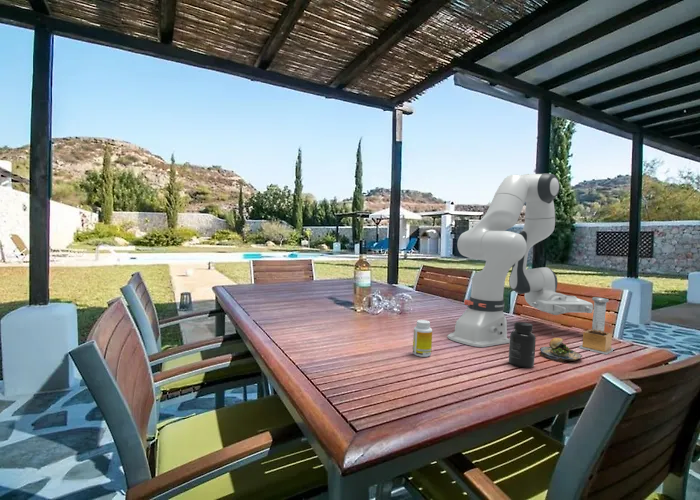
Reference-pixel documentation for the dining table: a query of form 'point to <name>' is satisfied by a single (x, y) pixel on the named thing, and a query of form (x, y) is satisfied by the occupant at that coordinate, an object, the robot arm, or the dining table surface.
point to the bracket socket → (597, 342)
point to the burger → (558, 351)
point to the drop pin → (599, 315)
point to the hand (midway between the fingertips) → (578, 310)
